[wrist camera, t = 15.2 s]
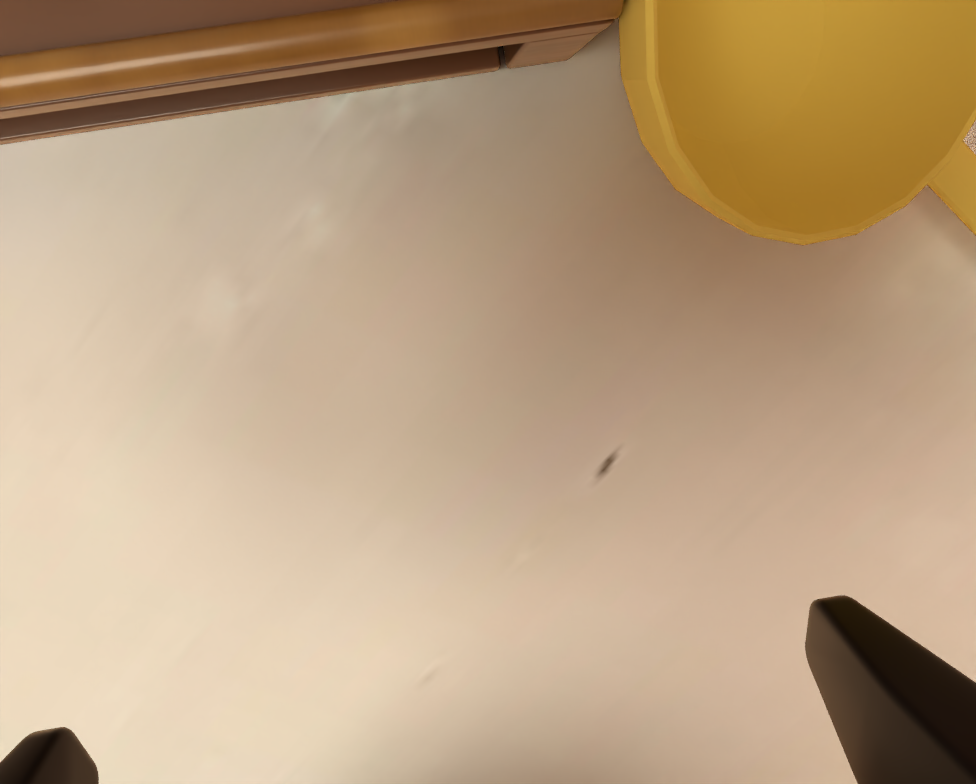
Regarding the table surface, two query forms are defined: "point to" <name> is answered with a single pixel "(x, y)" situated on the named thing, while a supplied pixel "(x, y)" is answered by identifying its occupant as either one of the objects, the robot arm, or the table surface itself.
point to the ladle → (805, 107)
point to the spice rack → (255, 52)
